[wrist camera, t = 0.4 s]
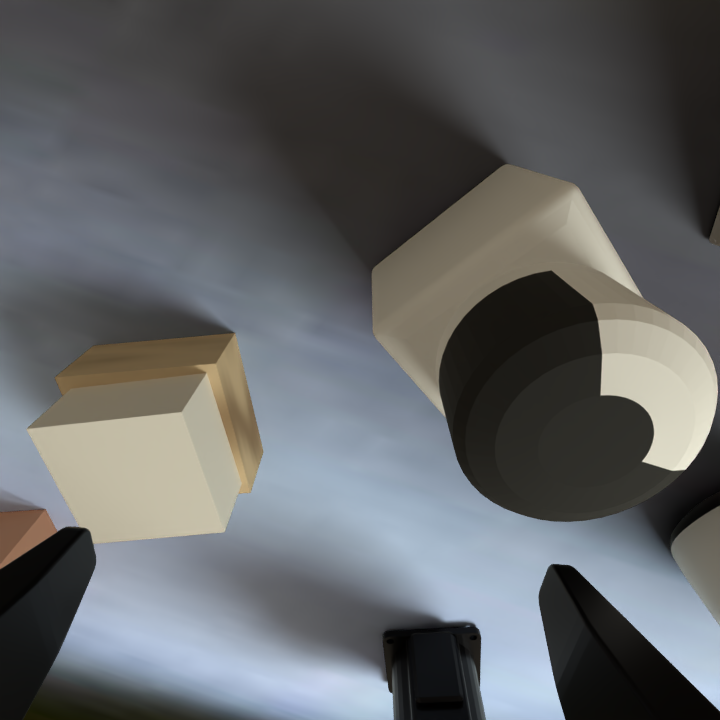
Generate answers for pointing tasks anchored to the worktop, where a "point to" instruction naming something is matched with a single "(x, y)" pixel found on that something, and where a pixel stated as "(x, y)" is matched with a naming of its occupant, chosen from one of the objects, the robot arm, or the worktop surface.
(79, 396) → the cream block
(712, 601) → the spread jar
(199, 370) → the oak base block
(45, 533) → the terracotta block
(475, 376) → the medicine bottle
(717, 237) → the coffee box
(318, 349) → the worktop surface
